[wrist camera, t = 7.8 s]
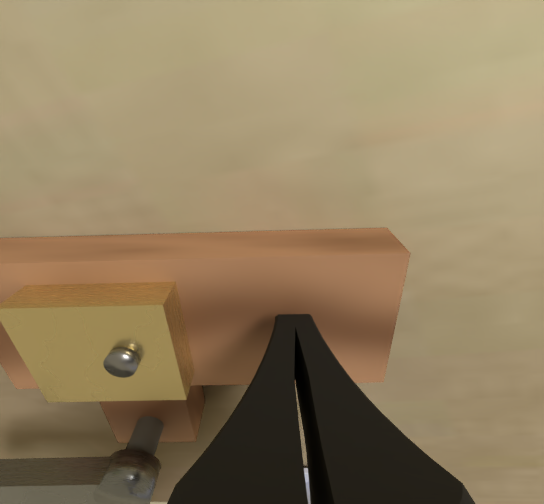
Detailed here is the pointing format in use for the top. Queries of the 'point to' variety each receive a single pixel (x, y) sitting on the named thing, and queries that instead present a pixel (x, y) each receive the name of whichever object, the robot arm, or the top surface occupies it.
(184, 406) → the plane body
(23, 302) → the wooden block with bolt
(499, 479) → the top surface
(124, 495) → the lever
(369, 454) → the robot arm
